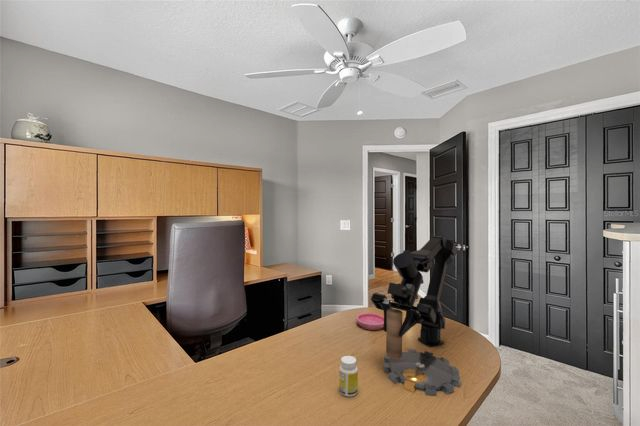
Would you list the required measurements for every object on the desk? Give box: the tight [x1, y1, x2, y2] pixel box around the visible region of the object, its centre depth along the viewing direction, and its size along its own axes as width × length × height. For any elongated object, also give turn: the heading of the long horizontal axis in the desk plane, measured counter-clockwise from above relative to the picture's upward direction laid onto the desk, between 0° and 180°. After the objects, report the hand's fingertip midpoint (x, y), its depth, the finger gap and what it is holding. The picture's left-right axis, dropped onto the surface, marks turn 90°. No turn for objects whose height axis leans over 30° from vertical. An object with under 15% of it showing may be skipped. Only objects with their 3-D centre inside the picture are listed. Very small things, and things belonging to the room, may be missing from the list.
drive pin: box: [385, 308, 403, 359], centre depth 82 cm, size 4×4×12 cm
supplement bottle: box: [338, 355, 359, 398], centre depth 75 cm, size 5×5×8 cm
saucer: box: [355, 312, 384, 331], centre depth 118 cm, size 12×12×3 cm
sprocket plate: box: [382, 348, 461, 396], centre depth 84 cm, size 21×21×2 cm
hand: (392, 333), depth 81 cm, fingers closed on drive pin, 4 cm apart
